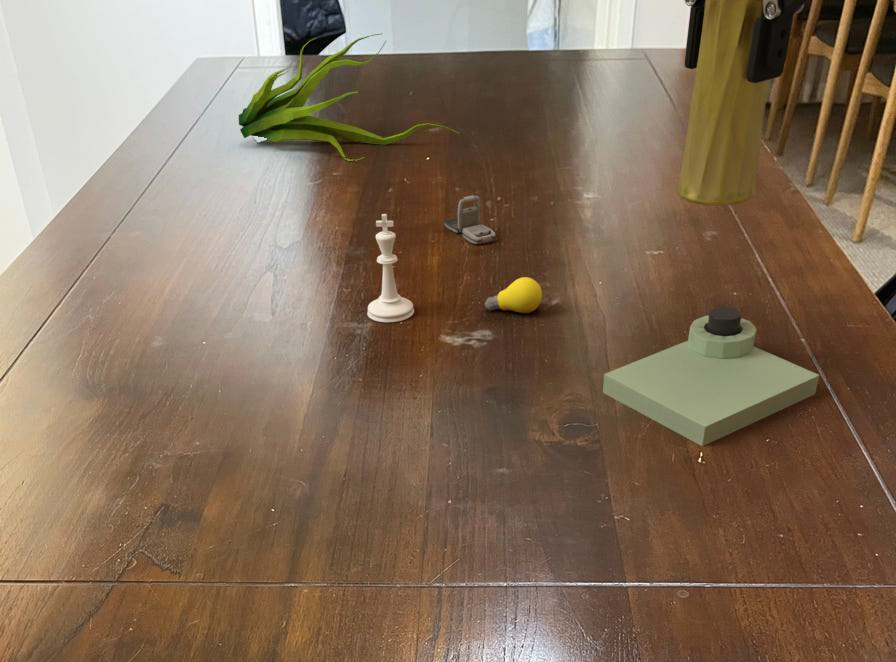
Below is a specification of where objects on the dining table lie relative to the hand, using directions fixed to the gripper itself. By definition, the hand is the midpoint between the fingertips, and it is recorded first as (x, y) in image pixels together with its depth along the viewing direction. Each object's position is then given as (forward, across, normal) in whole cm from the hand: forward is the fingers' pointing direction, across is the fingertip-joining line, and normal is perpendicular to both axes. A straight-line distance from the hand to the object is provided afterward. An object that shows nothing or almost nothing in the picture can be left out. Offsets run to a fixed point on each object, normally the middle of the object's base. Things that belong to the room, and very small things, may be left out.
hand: (732, 69), depth 75 cm
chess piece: (+25, +30, +13) cm, 41 cm away
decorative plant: (+25, +85, -15) cm, 90 cm away
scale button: (+22, +1, -4) cm, 23 cm away
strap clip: (+25, +43, -7) cm, 51 cm away
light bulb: (+25, +22, +3) cm, 34 cm away
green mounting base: (+25, -3, +1) cm, 25 cm away
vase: (+9, 0, 0) cm, 9 cm away
